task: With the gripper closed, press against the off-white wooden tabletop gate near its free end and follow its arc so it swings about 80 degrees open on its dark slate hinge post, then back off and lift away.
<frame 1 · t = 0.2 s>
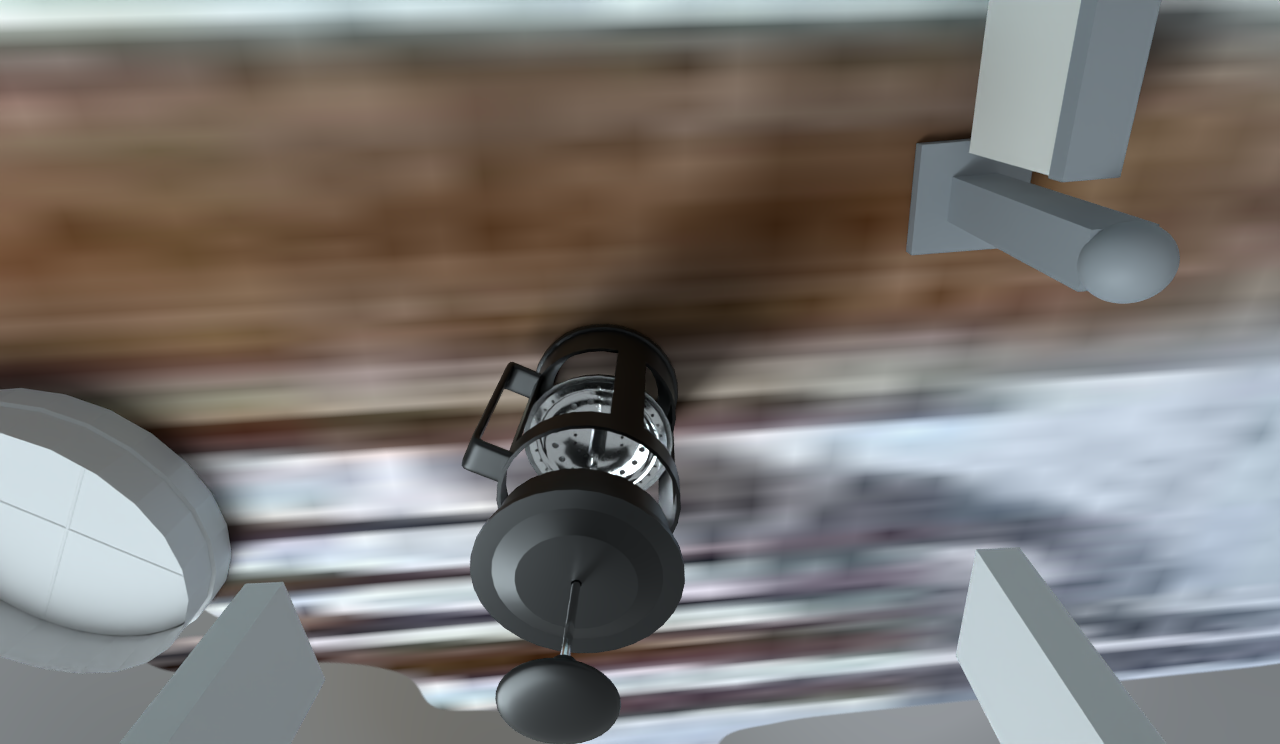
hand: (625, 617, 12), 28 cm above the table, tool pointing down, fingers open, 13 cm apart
french press: (599, 385, 42), on the table
dish: (85, 514, 48), on the table
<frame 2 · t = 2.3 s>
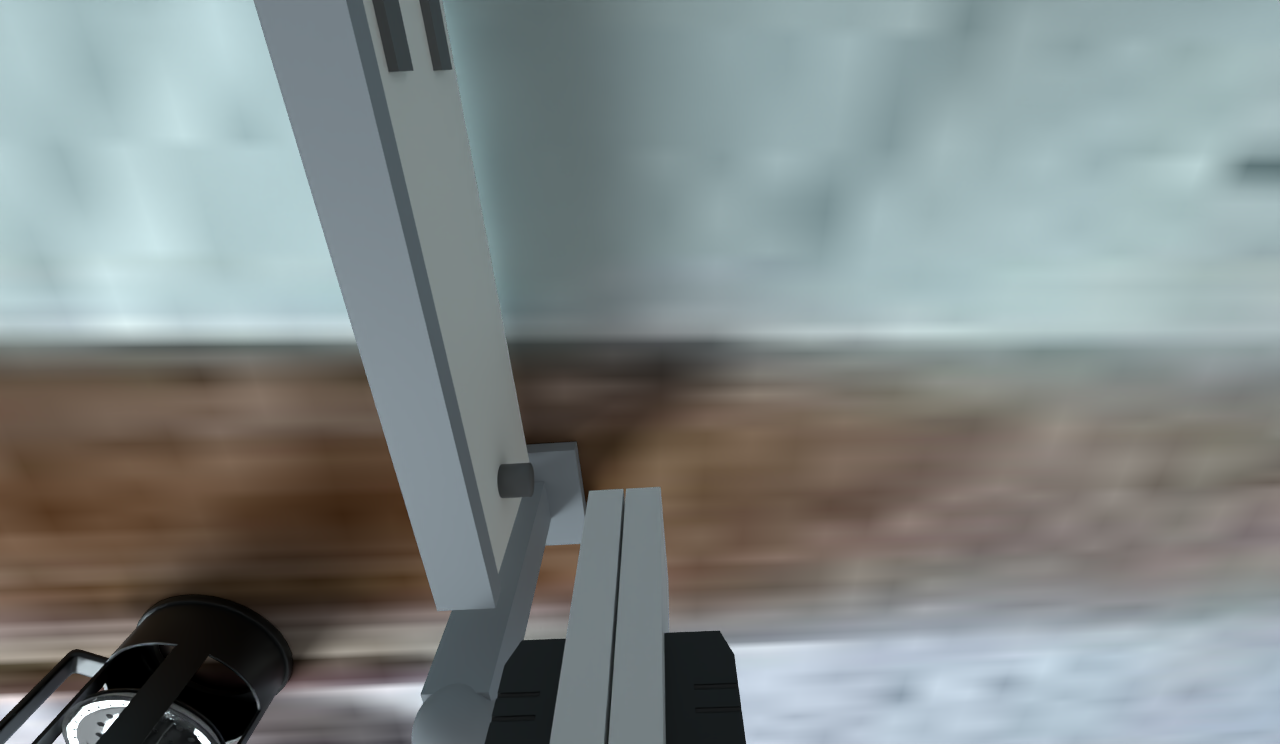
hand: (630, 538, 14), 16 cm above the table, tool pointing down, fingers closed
gate: (447, 271, 22), point 6 cm above the table, hinge at 0.0°
french press: (211, 644, 40), on the table
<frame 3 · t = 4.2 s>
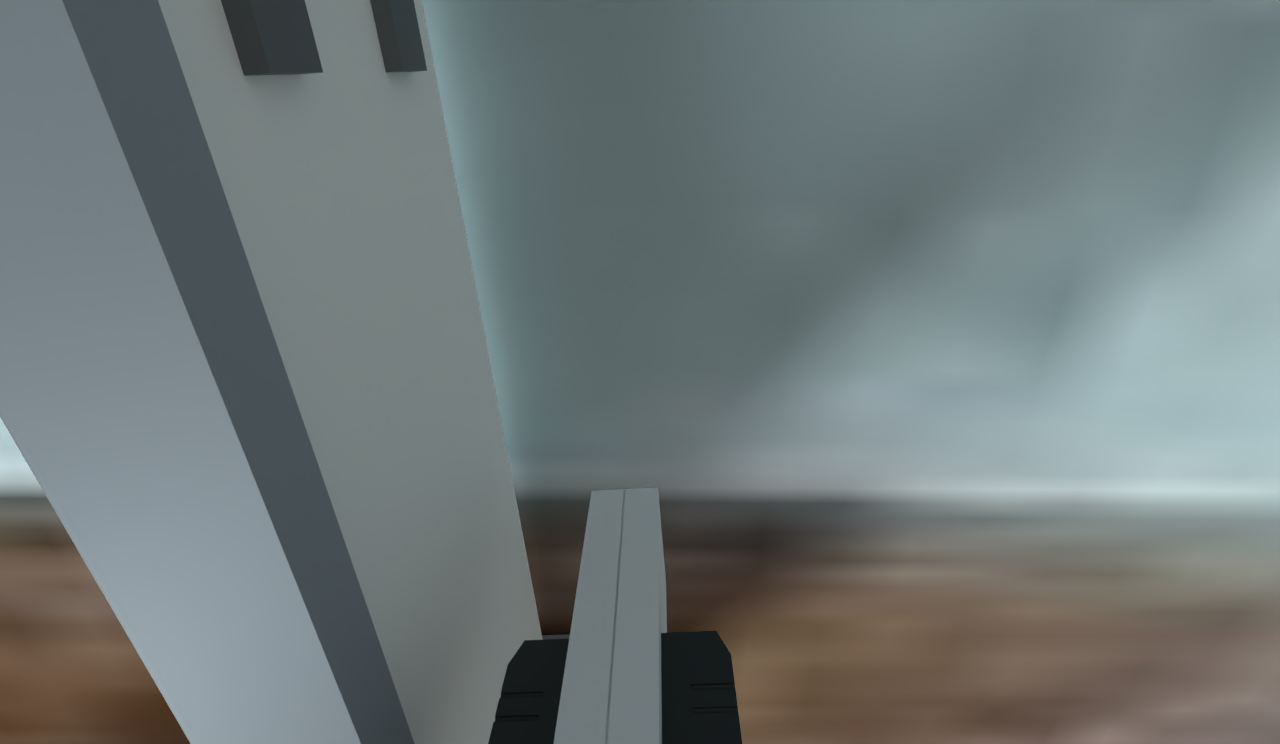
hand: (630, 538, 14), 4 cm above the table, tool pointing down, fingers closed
gate: (412, 462, 12), point 6 cm above the table, hinge at 0.4°, touching gripper
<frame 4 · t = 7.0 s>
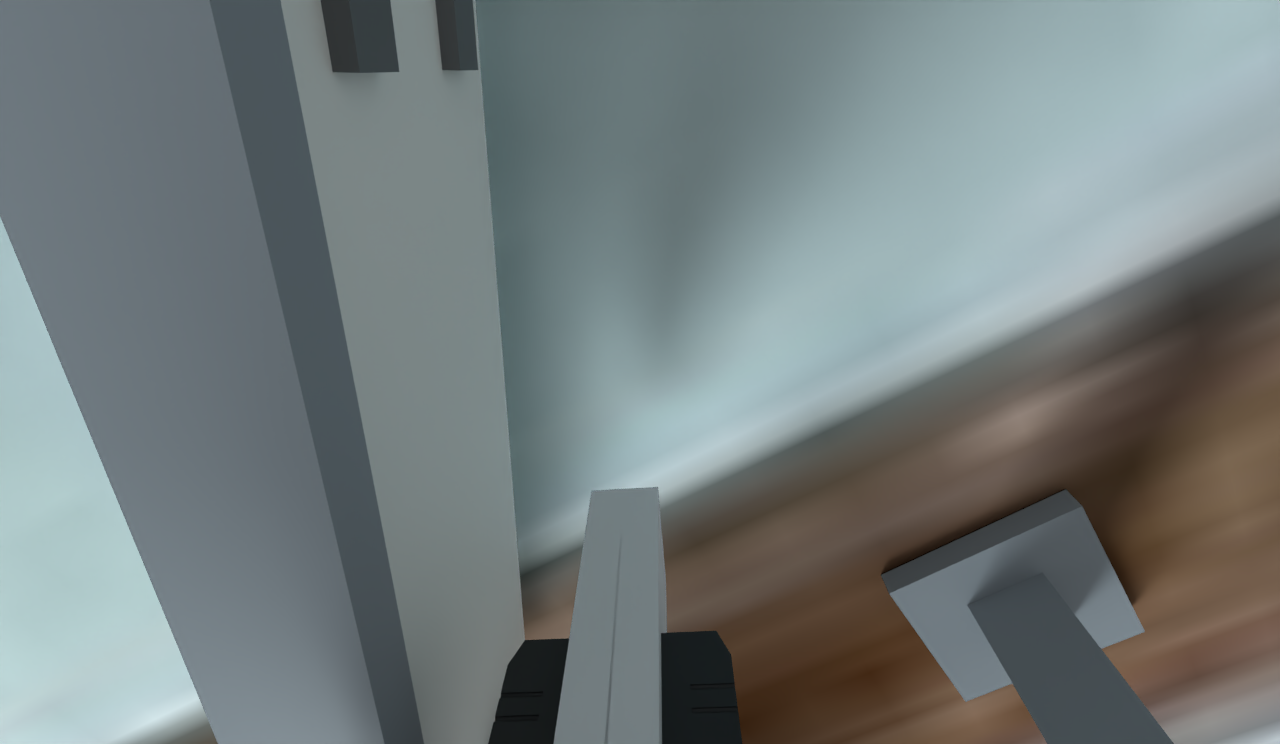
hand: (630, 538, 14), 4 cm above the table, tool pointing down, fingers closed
gate: (431, 455, 12), point 6 cm above the table, hinge at 36.5°, touching gripper
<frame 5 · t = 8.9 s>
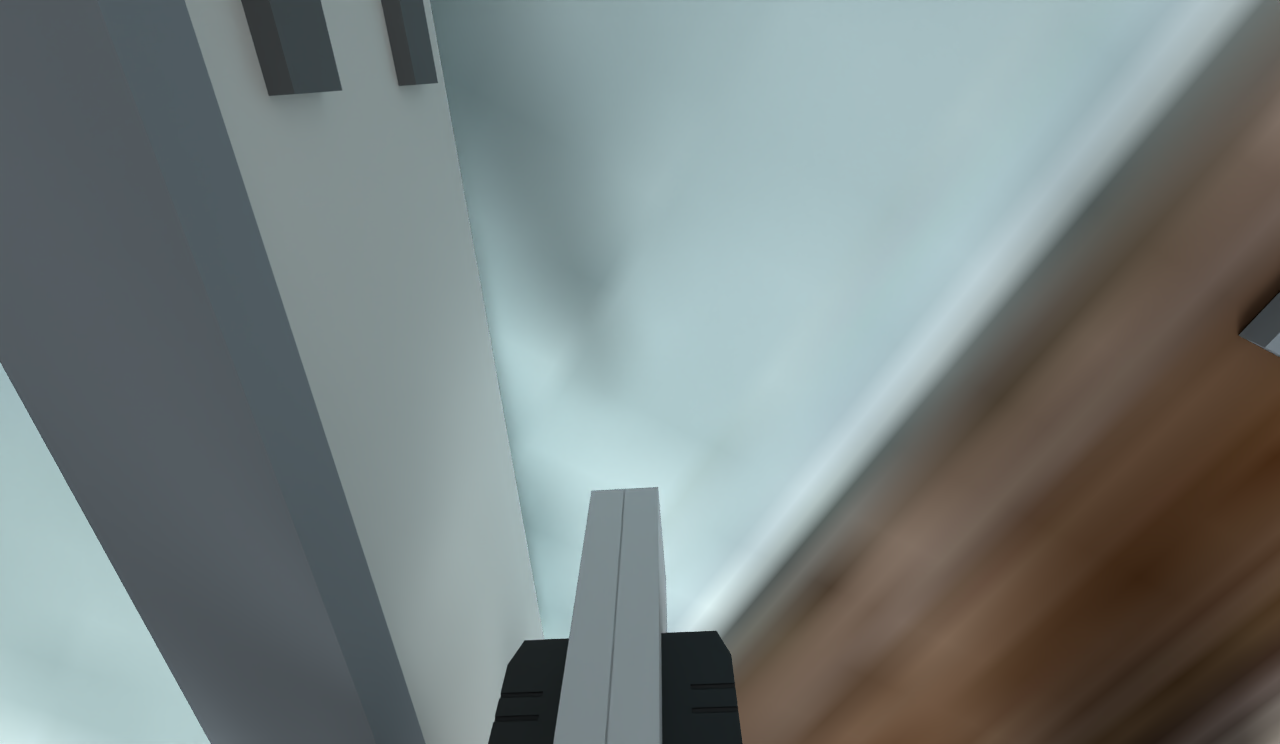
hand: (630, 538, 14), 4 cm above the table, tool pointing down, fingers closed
gate: (421, 467, 12), point 6 cm above the table, hinge at 61.6°, touching gripper
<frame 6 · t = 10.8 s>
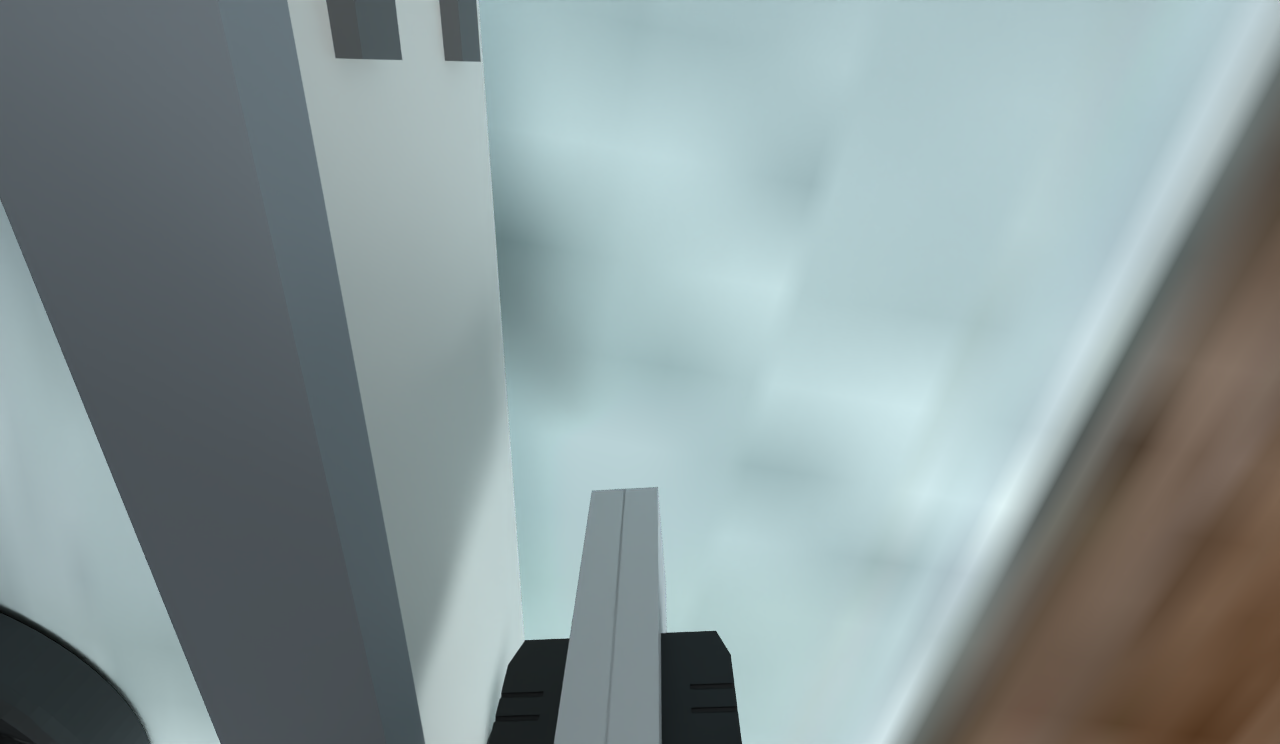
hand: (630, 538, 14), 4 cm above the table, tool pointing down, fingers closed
gate: (431, 448, 12), point 6 cm above the table, hinge at 86.3°, touching gripper
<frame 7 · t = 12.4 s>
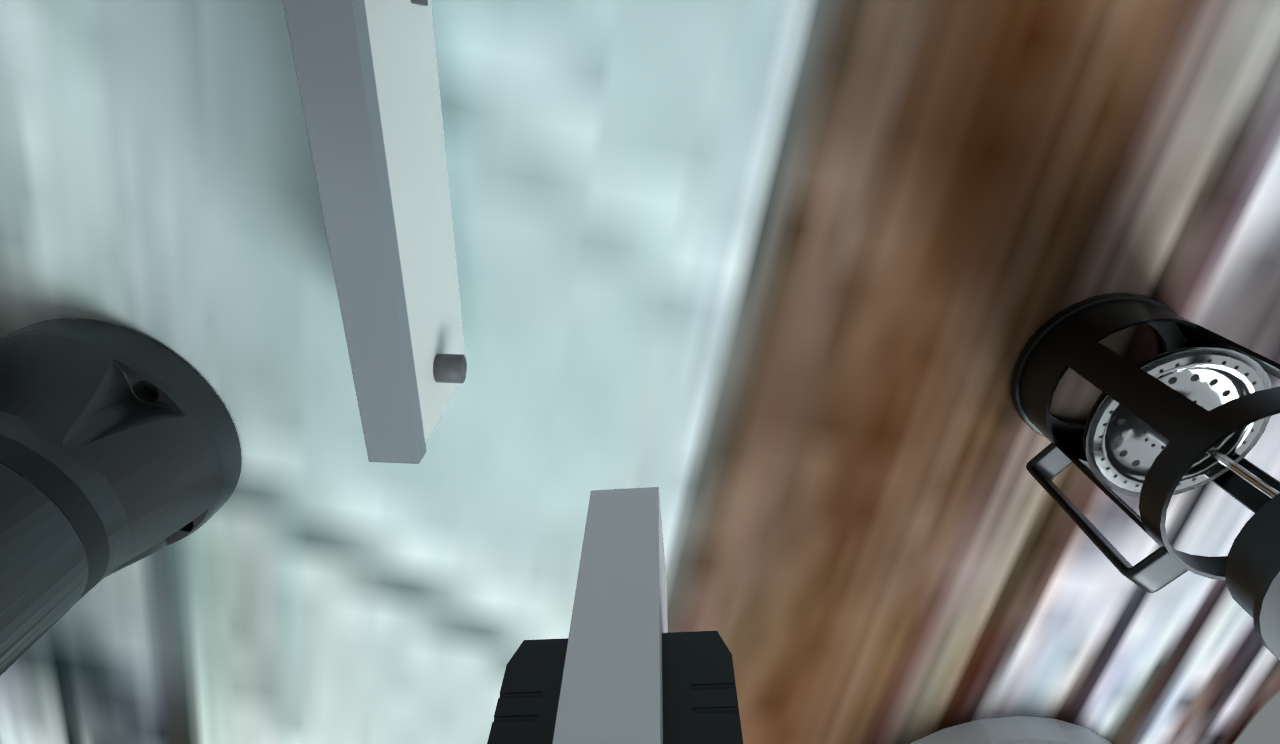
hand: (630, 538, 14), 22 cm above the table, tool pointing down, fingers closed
gate: (406, 173, 27), point 6 cm above the table, hinge at 86.3°
french press: (1085, 374, 37), on the table
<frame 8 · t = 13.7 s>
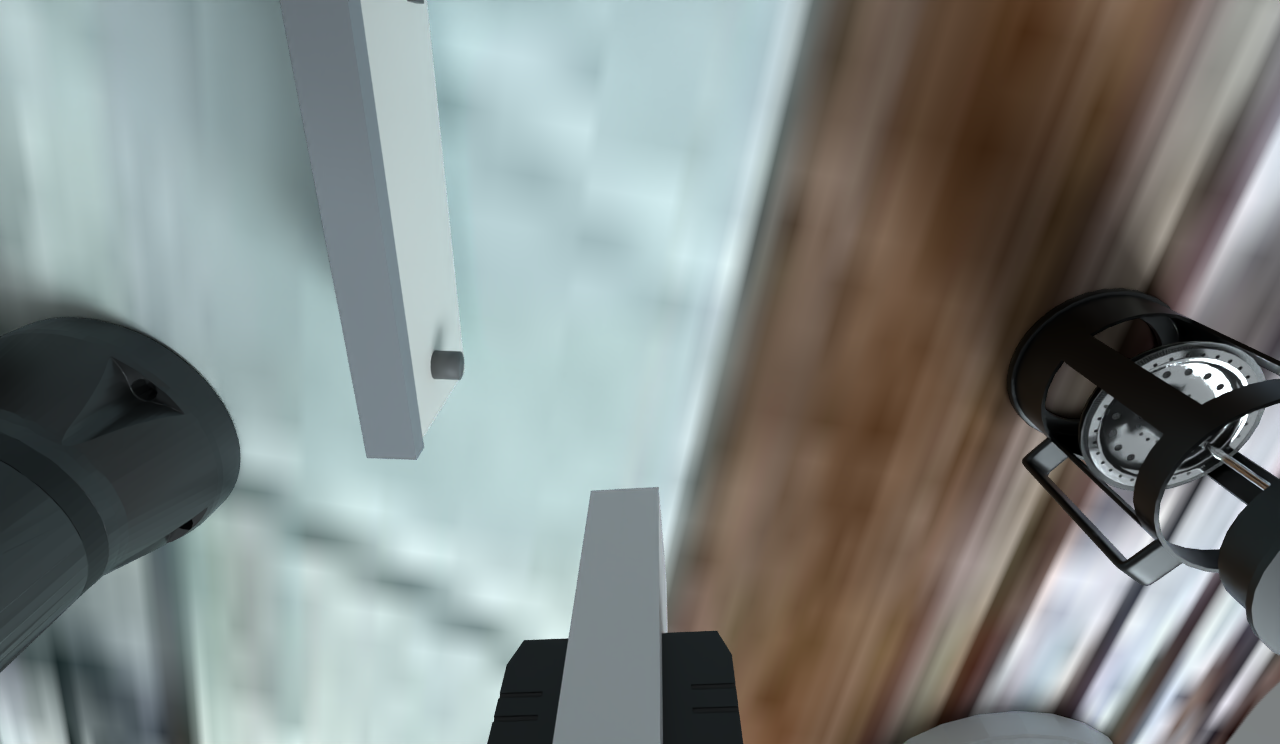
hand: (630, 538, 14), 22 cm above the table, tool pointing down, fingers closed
gate: (403, 170, 27), point 6 cm above the table, hinge at 86.3°
french press: (1081, 370, 37), on the table
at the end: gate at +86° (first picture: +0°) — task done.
